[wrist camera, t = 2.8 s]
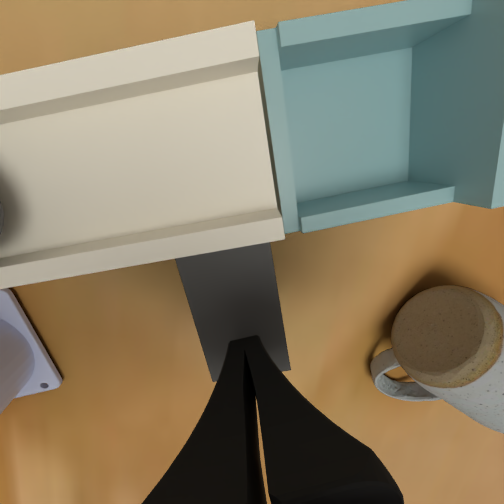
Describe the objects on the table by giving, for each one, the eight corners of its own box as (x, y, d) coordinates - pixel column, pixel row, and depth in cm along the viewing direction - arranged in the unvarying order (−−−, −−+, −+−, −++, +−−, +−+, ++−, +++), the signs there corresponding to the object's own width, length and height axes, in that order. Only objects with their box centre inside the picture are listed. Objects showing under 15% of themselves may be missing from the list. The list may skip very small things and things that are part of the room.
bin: (272, 219, 17) (298, 249, 11) (247, 61, 14) (267, -5, 8) (414, 189, 17) (507, 205, 12) (420, 30, 14) (550, -51, 9)
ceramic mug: (429, 261, 19) (550, 324, 12) (494, 307, 22) (629, 383, 14) (340, 363, 22) (398, 465, 15) (407, 395, 24) (485, 496, 17)
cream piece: (49, 392, 15) (-7, 460, 12) (-111, 129, 10) (-285, 119, 7) (297, 354, 14) (312, 415, 11) (252, 53, 9) (255, 0, 6)
